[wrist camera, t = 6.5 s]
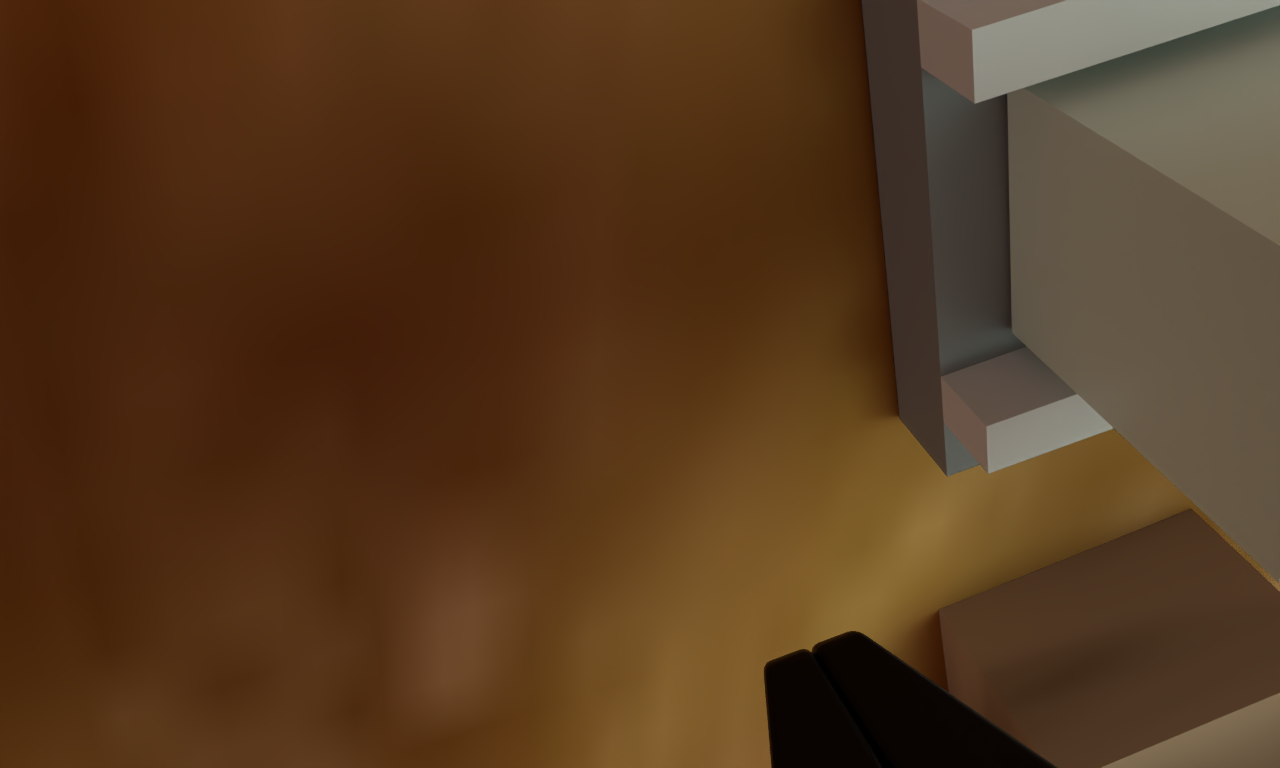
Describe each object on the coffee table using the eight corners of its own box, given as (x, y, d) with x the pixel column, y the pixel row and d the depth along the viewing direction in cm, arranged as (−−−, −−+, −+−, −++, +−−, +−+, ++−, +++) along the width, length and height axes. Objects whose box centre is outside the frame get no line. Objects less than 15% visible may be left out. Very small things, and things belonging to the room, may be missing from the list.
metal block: (1176, 678, 25) (1319, 841, 21) (955, 770, 24) (1067, 950, 21) (1186, 504, 22) (1353, 662, 18) (934, 604, 21) (1060, 783, 18)
